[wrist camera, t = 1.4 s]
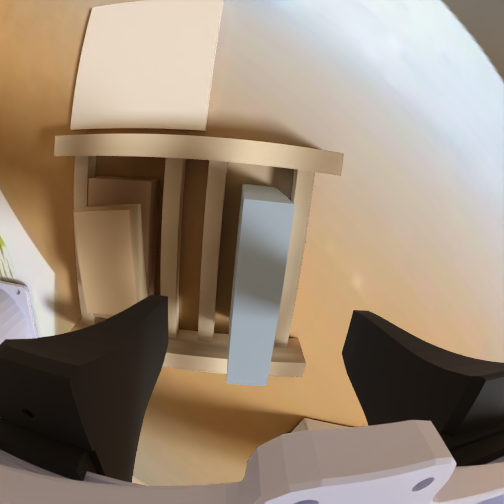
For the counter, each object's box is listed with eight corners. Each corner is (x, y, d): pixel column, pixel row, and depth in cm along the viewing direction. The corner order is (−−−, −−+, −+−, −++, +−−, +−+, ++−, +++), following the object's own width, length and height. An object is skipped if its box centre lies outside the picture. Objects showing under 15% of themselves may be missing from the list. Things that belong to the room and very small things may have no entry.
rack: (85, 328, 21) (69, 349, 19) (78, 136, 17) (55, 135, 15) (295, 351, 23) (302, 377, 20) (328, 153, 18) (343, 153, 16)
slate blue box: (229, 317, 22) (226, 383, 15) (242, 183, 19) (243, 198, 12) (258, 319, 22) (266, 385, 15) (275, 186, 19) (294, 204, 12)
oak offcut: (99, 298, 19) (87, 312, 17) (88, 205, 17) (73, 211, 15) (148, 301, 19) (139, 316, 17) (141, 204, 17) (129, 210, 15)
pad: (72, 129, 17) (70, 129, 17) (94, 9, 15) (92, 7, 14) (205, 130, 18) (205, 130, 17) (223, 1, 15) (223, -1, 15)
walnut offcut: (105, 301, 21) (93, 316, 19) (104, 175, 19) (88, 178, 16) (157, 308, 22) (148, 325, 19) (161, 178, 19) (151, 181, 17)
